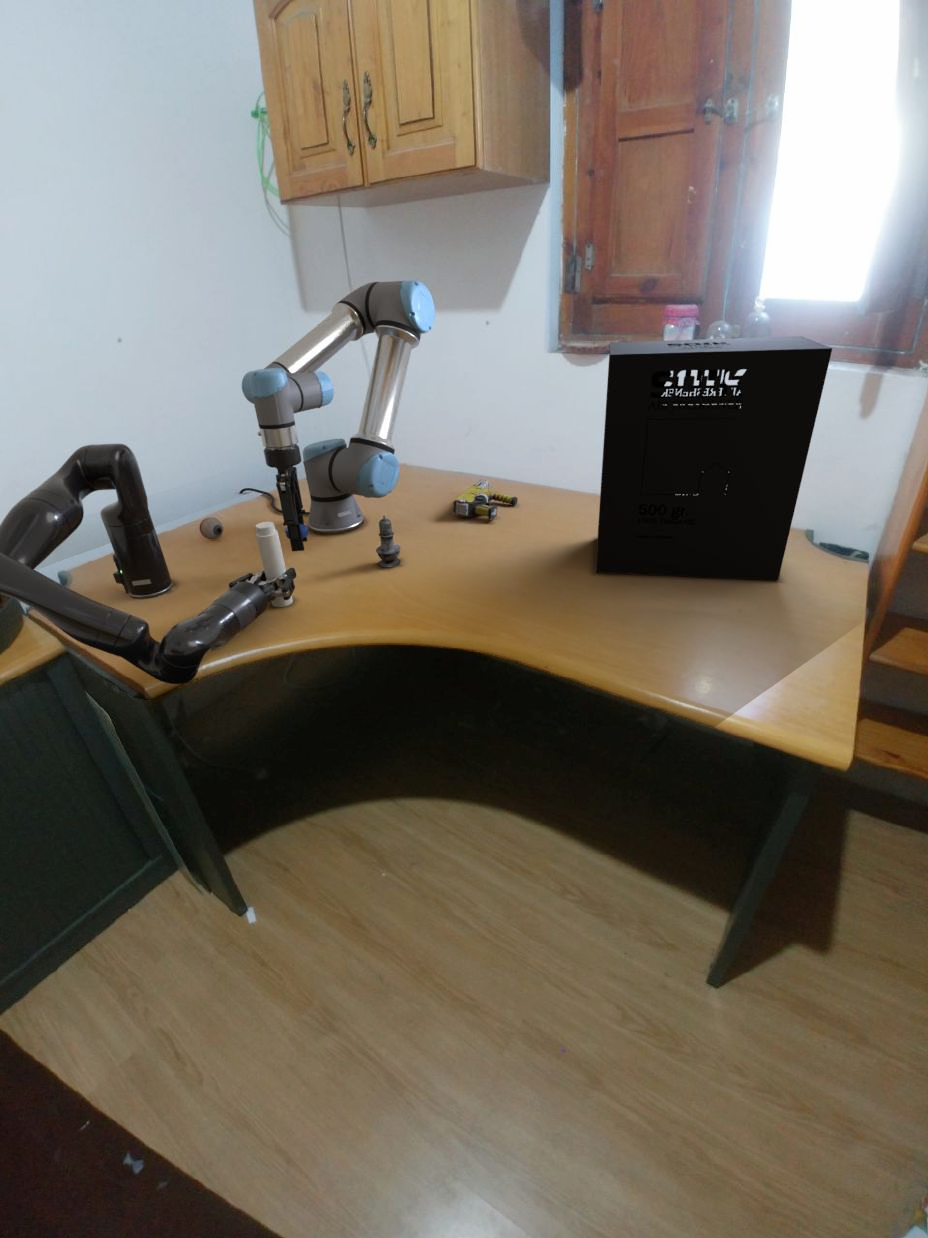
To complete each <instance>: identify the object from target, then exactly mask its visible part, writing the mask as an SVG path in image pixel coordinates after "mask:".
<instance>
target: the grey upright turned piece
mask: <svg viewBox="0 0 928 1238" xmlns="http://www.w3.org/2000/svg"><path fill="white" fill-rule="evenodd" d="M378 528H379V533H378V536H379V537H380V538H379V539H380V546H378V547H376V549H375V552H376V553H377V555H378V557H379V558H380V559H381V560H379V562H378V565H379V567H382V568H395V567H398V566H399V565H400V564H401V562H402V560H401V559H400V558H398V557H399V556H400V551H401V546H399V544H395V540H394V535H395V532H393V526H392V521H391V519H389V518H386V515H383V516H382V519H380V520H379V522H378Z"/></svg>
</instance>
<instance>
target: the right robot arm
mask: <svg viewBox="0 0 928 1238" xmlns="http://www.w3.org/2000/svg"><path fill="white" fill-rule="evenodd" d="M434 302H435V301H434V300H433V296H432V294H431V292H430V290H429V288H428V287H427V286H426V285H425V284H424V283H423V282H422V281H420V280H409V279H403V280H393V281H373V282H368V283H366V284H363V285H362V286H359V287H357V288H356V289H354V290H353V291H351V292H349V293H348V294H346V296H344V297H343V298H341V299H340V300H339V301H337V302H336V303H335V304H334V305H333V306H332V307H331V311H330V314H329V315H327V316H326V317H325V318H324V319H323V320H322V321H320V322H319V323H318V324H317V325H316V326H314V327H313V328H312V329H311V330H309V331H308V332H307V333H305V335H303V336H302V337H301V338H300V339H298V340H297V341H296V342H295V343H294V344H293V345H291V346H290V347H289V348H288V349H286V350H285V351H284V352H282V354H280V355H279V356H278V357H277V358H275V359H274V360H273V361H271V363H269V364H268V365H267V366H265V367H264V368H260V369H259V368H258V369H255V370H251V371H250V370H249V371H248V372H246V373H245V374H244V375H243V377H242V380H241V391H242V394H243V396H244V397H245V399H246V400H247V401H248V402H249V403H250V404H253V407H254V409H255V410H254V411H255V414H256V420H257V424H258V428H259V431H257V436H259V437H261V444H262V446H263V447H264V449H263V454H264V460H265V464H266V466H267V467H268V468H271V469H272V468H275V469H276V470H277V474H275V480H276V483H275V487H276V489H277V493H278V497H279V503H280V508H281V509H279V508H278V507H277V506H276V505H275V501H276V499H275V496H273V494H271V493H270V492H268V491H265V490H261V489H256V488H251V487H245V488H242V489H241V490H240V491H239V492H238V493H239V495H240V494H243V493H244V492H246V491H249V492H250V491H252V492H255V493H259V494H262V495H266V496H268V497H269V498H270V499H271V503H270V504H271V507H272V508H273V509H274V510H275V511H276V512H278V513H279V514H282V518H283V522H282V526H283V527H287V528H288V533H289V538H290V539H289V543H290V548H291V552H292V553H293V552H303V551H305V545H304V543H305V542H308V536H307V537H305V538H302V534H301V529H300V524H305V519H304V516H308V521H307V522H308V523H307V524H308V530H310V531H311V532H312V533H314V534H317V535H323V536H324V535H325V536H327V535H329V536H331V535H339V534H340V535H341V534H345V533H350V532H353V531H355V530H357V529H359V528H361V527H362V526H363V525H364V523H365V519H364V514H363V512H362V510H361V508H360V505H359V504H358V501H357V500H356V498H355V496H360V497H364V498H367V499H371V498H374V499H381V498H383V497H386V496H387V495H388V494H390V493H391V492H392V491H394V489H395V487H396V486H397V483H398V481H399V478H400V470H401V469H400V466H399V465H400V463H399V460H398V458H397V457H396V455H395V452H396V448H395V447H394V445H393V444H392V438H393V434H394V429H395V425H396V421H397V415H398V412H399V407H400V404H401V403H400V402H401V398H402V394H403V390H404V385H405V381H406V376H407V372H408V367H409V362H410V359H411V353H412V350H413V349H416V348H417V347H418V346H419V345H420V342H421V337H422V334H426V333H429V332H430V331H431V330H432V329H433V326H434V324H435V317H436V309H435V308H436V307H435V303H434ZM369 334H375V336H376V338H377V339H378V340H377V345H376V348H375V354H374V356H373V357H374V358H373V363H372V367H371V372H370V375H369V380H368V385H367V389H366V394H365V398H364V403H363V408H362V412H361V417H360V421H359V425H358V430H357V433H355V434H354V435H352V436H350V438H349V443H347V442H346V440H345V439H344V438H331V439H326V440H320V441H317V442H313V443H309V444H308V445H306V446H305V447H304V448H303V450H302V456H301V451H300V446H299V445H298V443H299V437H298V431H297V425H296V422H295V414H298V413H301V412H305V411H310V410H314V409H321V408H322V407H325V406H328V405H329V404H331V403H332V401H333V399H334V395H335V391H334V390H335V389H334V384H333V381H332V379H331V378H330V376H329V375H328V374H327V373H326V372H324V371H321V370H319V369H320V368H321V367H322V366H323V365H324V364H325V363H327V362H328V361H329V360H330V359H331V358H333V357H334V356H335V355H336V354H337V353H338V352H339V351H341V350H342V349H344V347H345V346H346V345H348V344H349V343H350V342H357V341H358V340H360V339H361V338H362V337H364V336H366V335H369ZM302 457H303V458H302ZM302 460H303V462H302ZM301 462H302V463H303V467H304V473H305V477H306V482H307V487H308V492H309V498H310V507H309V511H306V509H304V505H303V500H302V494H301V489H300V484H299V479H298V469H297V467H296V466H298V465H299V464H301Z"/></svg>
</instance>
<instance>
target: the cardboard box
mask: <svg viewBox="0 0 928 1238" xmlns="http://www.w3.org/2000/svg"><path fill="white" fill-rule="evenodd" d="M832 352H833V347H830V346H829V345H826V344H822V343H821V342H817V341H815V340H813V339H809V338H808V337H804V336H801V335H798V336H797V335H796V336H795V335H793V336H767V337H766V336H765V337H764V336H763V337H762V336H761V337H737V338H705V339H675V340H673V339H672V340H649V341H648V340H645V341H644V340H643V341H615V342H614V341H613V342H612V341H611V342H609V353H608V369H607V382H606V383H607V385H606V401H605V414H604V415H605V416H604V432H603V433H604V434H603V445H602V446H603V447H602V462H601V477H600V479H601V480H600V496H599V508H598V509H599V511H598V523H597V543H596V562H595V563H596V564H595V573H596V574H616V575H617V574H618V575H619V574H620V575H642V576H644V575H645V576H662V577H663V576H665V577H666V576H668V577H690V578H712V579H713V578H714V579H736V580H737V579H738V580H758V581H759V580H761V581H779V578H780V575H781V570H782V567H783V566H782V565H783V562H784V557H785V554H786V550H787V549H786V548H787V544H788V539H789V536H790V531H791V527H792V523H793V519H794V516H795V515H794V514H795V510H796V506H797V502H798V501H797V500H798V498H799V493H800V488H801V485H802V480H803V475H804V473H805V468H806V467H805V466H806V463H807V459H808V454H809V450H810V446H811V441H812V438H813V433H814V428H815V424H816V420H817V416H818V412H819V407H820V403H821V399H822V395H823V390H824V387H825V386H824V385H825V382H826V377H827V374H828V369H829V364H830V361H831V356H832ZM741 370H745V371H744V372H743V374H742V375H741V374H740V375H737V373H738V372H739V371H741ZM684 371H685V375H684V377H683V383H682V385H679V380H680V375H679V374H680V373H681V372H684ZM693 371H697V372H696V377H695V375H692V372H693ZM706 371H708V373H707V375H706ZM727 374H728V378H727V381H737V382H736V384H727V383H726V377H727ZM695 379H696V382H697V381H698V384H697V385H695ZM711 381H713V384H712V385H710V384H709V385H708V382H711ZM667 383H671V384H670V385H666V384H667Z"/></svg>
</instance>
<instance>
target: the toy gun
mask: <svg viewBox="0 0 928 1238" xmlns="http://www.w3.org/2000/svg"><path fill="white" fill-rule="evenodd" d="M491 501H495V502H499V503H503V504H506V505H507V504H509V505H510V506H511V505H512V506H516V505H517V504H518V497H517V496H510V495H507V494H503V493H498V492H495V493H494V494H492V492H491V491H490V482H489V481H488V480H485V481H484V479H480V480H479V481H477V482H476V483H474V484H472V485H471V486H470V487H469V488H468V489H466V490H465V491H464V492H463V493H462V494H461V495H459V496H458V497H457V498H456V499H454V501H453V502H452V512H453V514H454V515H457V517H461V518H464V517H473V516H477V515H478V516H479V515H480V516H485V517H487V518H488V520H490V521H491V520H493V519H494V518H496V517H497V516H498V505H497V504H492V505H491V503H490V502H491Z"/></svg>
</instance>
